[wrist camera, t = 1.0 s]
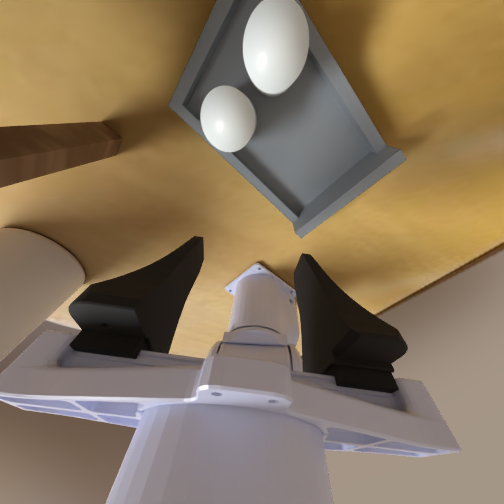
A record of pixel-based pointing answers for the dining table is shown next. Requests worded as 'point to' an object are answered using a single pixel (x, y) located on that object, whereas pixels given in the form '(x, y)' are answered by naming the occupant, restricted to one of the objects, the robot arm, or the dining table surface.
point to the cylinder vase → (32, 283)
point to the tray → (281, 110)
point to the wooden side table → (52, 149)
